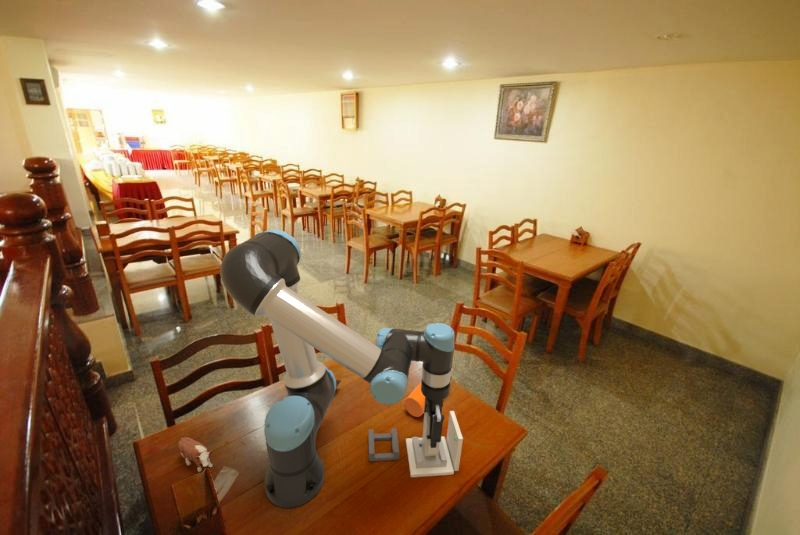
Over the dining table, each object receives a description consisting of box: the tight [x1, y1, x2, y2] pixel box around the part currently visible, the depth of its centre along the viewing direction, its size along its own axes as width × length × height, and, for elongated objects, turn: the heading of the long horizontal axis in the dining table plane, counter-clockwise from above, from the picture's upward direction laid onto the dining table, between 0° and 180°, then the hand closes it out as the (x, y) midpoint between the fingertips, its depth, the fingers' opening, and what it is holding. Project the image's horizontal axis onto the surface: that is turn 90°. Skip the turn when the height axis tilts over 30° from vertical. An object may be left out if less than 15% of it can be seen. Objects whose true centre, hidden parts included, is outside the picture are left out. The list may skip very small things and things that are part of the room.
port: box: [405, 410, 464, 478], centre depth 100 cm, size 14×12×12 cm
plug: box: [422, 412, 440, 456], centre depth 98 cm, size 4×4×14 cm
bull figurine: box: [177, 436, 214, 473], centre depth 95 cm, size 4×13×8 cm, turn 58°
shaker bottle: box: [404, 376, 453, 418], centre depth 122 cm, size 9×9×20 cm
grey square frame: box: [368, 427, 400, 462], centre depth 104 cm, size 8×8×3 cm
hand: (430, 445), depth 100 cm, fingers closed on plug, 4 cm apart
